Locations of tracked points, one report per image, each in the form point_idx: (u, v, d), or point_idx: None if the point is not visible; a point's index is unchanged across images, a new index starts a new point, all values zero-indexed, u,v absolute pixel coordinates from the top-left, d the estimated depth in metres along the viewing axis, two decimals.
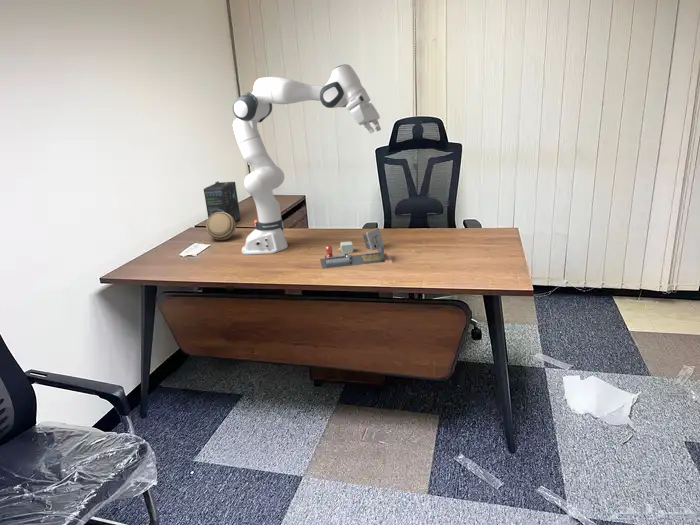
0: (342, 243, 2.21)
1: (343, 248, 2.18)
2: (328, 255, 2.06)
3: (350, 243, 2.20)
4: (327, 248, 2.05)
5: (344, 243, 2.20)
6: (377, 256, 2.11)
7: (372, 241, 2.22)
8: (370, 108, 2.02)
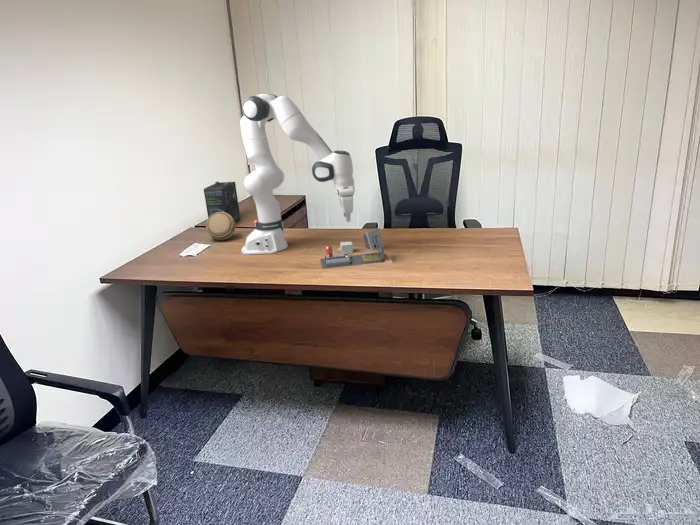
0: (342, 243, 2.21)
1: (343, 248, 2.18)
2: (328, 255, 2.06)
3: (350, 243, 2.20)
4: (327, 248, 2.05)
5: (344, 243, 2.20)
6: (377, 256, 2.11)
7: (372, 241, 2.22)
8: None
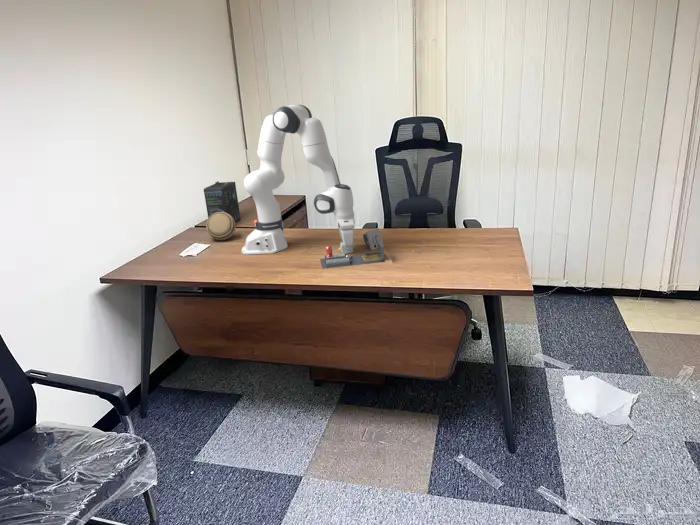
0: (342, 243, 2.21)
1: (343, 248, 2.18)
2: (328, 255, 2.06)
3: None
4: (327, 248, 2.05)
5: None
6: (377, 256, 2.11)
7: (372, 241, 2.22)
8: None
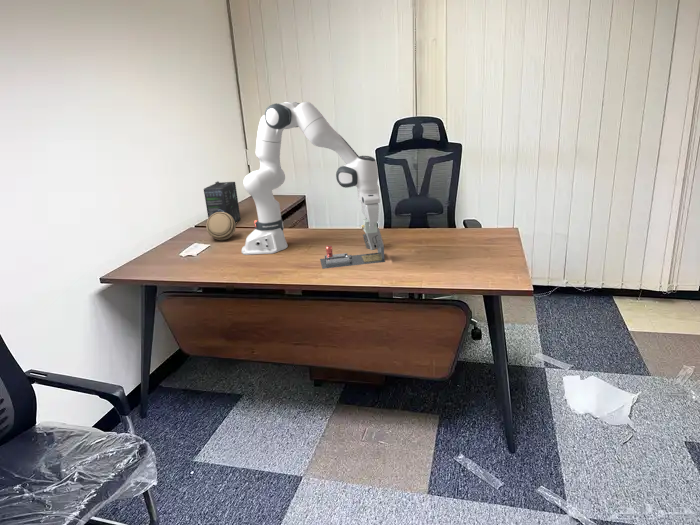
0: (365, 220, 2.05)
1: (367, 225, 2.03)
2: (328, 255, 2.06)
3: None
4: (327, 248, 2.05)
5: (367, 220, 2.05)
6: (377, 256, 2.11)
7: (372, 241, 2.22)
8: None
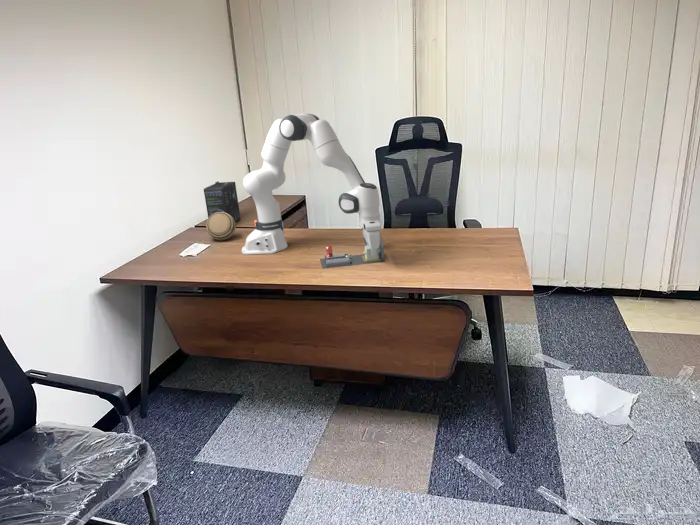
0: (367, 246, 2.09)
1: (368, 252, 2.07)
2: (328, 255, 2.06)
3: None
4: (327, 248, 2.05)
5: (369, 246, 2.09)
6: None
7: None
8: None
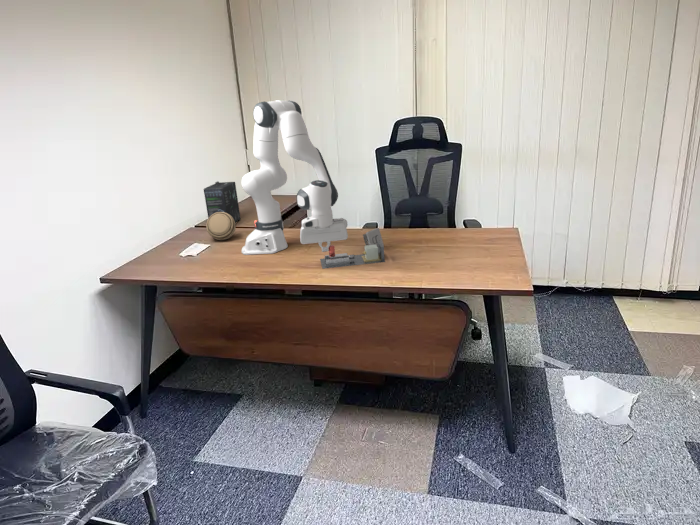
0: (367, 246, 2.09)
1: (368, 252, 2.07)
2: (331, 255, 2.06)
3: (375, 246, 2.08)
4: (330, 248, 2.05)
5: (369, 246, 2.09)
6: None
7: (372, 241, 2.22)
8: (333, 229, 2.02)
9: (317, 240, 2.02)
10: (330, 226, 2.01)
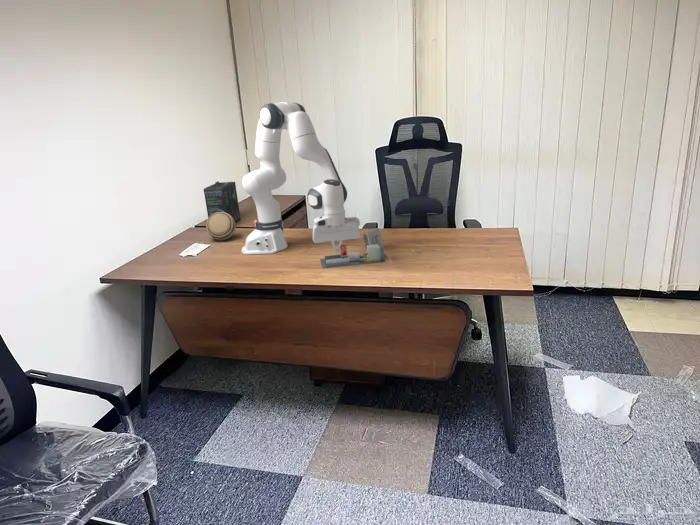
0: (369, 246, 2.09)
1: (370, 251, 2.07)
2: (342, 253, 2.07)
3: (377, 246, 2.08)
4: (341, 246, 2.06)
5: (371, 246, 2.09)
6: None
7: (372, 241, 2.22)
8: (345, 228, 2.03)
9: (329, 239, 2.03)
10: (343, 225, 2.02)
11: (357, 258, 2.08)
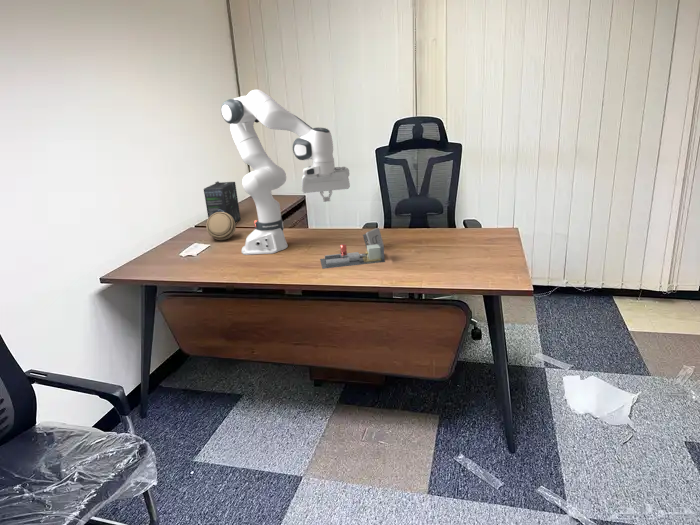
0: (369, 246, 2.09)
1: (370, 251, 2.07)
2: (342, 253, 2.07)
3: (377, 246, 2.08)
4: (341, 246, 2.06)
5: (371, 246, 2.09)
6: None
7: (372, 241, 2.22)
8: (334, 178, 1.99)
9: (319, 189, 2.00)
10: (332, 174, 1.99)
11: (357, 258, 2.08)
